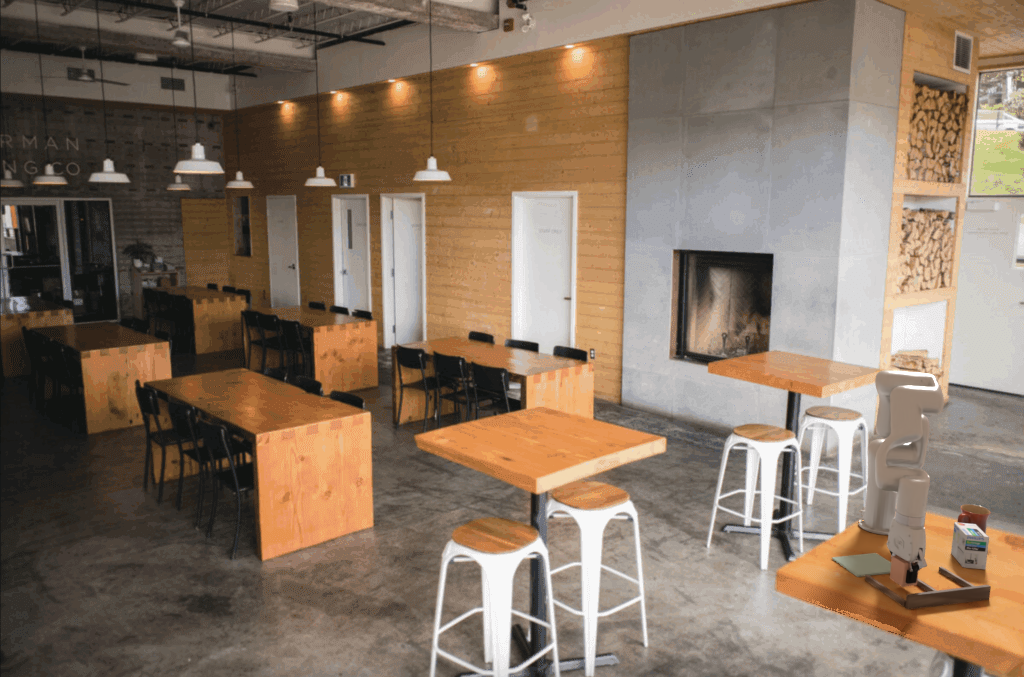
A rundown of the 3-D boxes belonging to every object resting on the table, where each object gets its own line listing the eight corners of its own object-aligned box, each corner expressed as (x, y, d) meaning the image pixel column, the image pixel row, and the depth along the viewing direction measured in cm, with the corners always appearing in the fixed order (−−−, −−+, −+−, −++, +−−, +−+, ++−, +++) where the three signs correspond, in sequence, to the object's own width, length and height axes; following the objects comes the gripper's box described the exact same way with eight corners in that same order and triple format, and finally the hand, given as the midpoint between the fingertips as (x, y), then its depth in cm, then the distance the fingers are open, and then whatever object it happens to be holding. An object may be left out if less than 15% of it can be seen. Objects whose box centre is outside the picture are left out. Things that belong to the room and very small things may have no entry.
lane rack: (864, 579, 225) (865, 567, 224) (941, 571, 231) (942, 558, 230) (907, 609, 208) (909, 596, 207) (989, 599, 214) (990, 586, 214)
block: (889, 578, 221) (892, 556, 220) (904, 576, 222) (906, 554, 221) (902, 586, 216) (904, 563, 215) (916, 584, 217) (919, 562, 216)
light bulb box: (986, 570, 232) (990, 537, 230) (962, 568, 233) (966, 535, 232) (972, 555, 243) (976, 523, 241) (949, 553, 244) (953, 521, 242)
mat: (831, 559, 238) (831, 557, 238) (875, 554, 242) (875, 552, 242) (857, 576, 227) (857, 575, 226) (902, 571, 230) (903, 570, 230)
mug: (968, 531, 261) (971, 502, 259) (993, 541, 253) (996, 512, 251) (944, 536, 256) (947, 507, 255) (968, 547, 248) (972, 517, 247)
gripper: (877, 508, 223) (872, 566, 226) (921, 532, 207) (914, 593, 210) (899, 506, 225) (893, 563, 228) (944, 529, 209) (937, 591, 212)
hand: (903, 577), depth 219 cm, fingers closed on block, 5 cm apart
